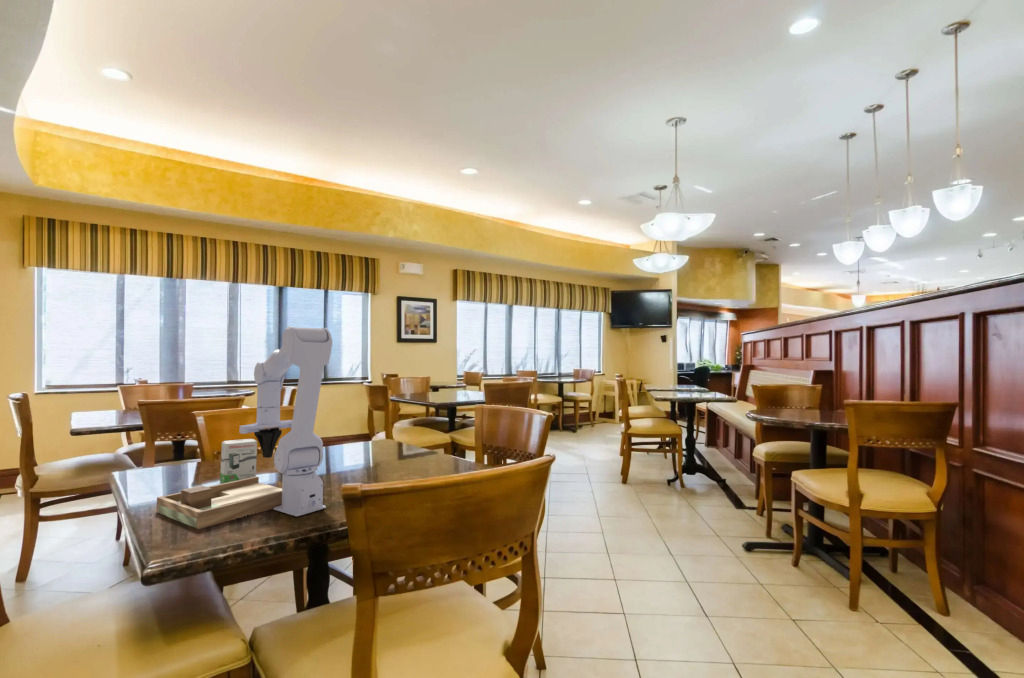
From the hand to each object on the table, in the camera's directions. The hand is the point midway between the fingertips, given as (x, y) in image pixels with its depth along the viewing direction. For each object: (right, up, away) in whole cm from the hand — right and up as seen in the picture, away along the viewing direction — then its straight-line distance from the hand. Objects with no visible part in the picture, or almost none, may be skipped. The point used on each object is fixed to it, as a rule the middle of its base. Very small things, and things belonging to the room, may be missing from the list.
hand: (267, 457), depth 133 cm
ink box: (-14, -10, +11) cm, 20 cm away
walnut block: (-7, -7, -20) cm, 22 cm away
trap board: (-2, -9, -13) cm, 16 cm away
